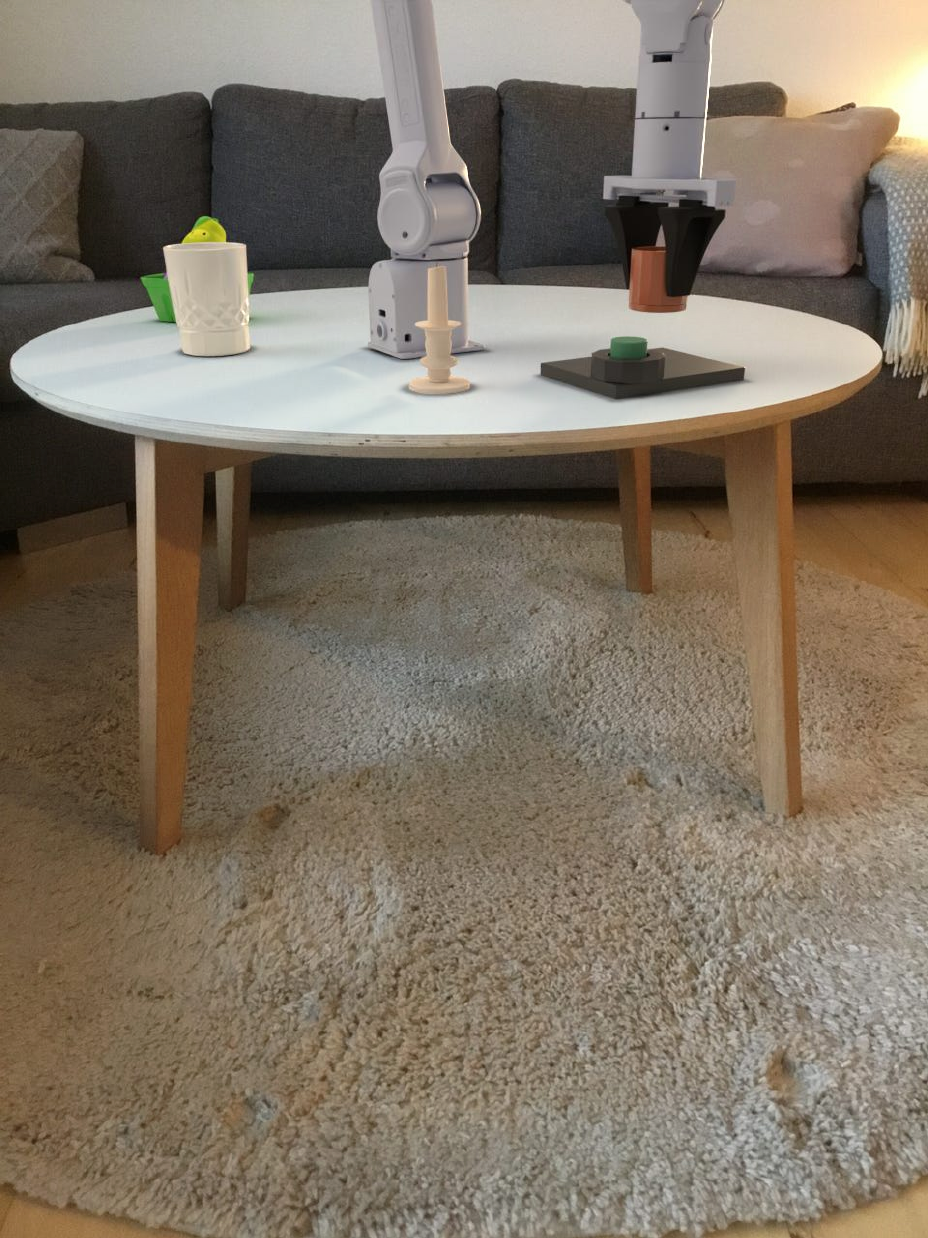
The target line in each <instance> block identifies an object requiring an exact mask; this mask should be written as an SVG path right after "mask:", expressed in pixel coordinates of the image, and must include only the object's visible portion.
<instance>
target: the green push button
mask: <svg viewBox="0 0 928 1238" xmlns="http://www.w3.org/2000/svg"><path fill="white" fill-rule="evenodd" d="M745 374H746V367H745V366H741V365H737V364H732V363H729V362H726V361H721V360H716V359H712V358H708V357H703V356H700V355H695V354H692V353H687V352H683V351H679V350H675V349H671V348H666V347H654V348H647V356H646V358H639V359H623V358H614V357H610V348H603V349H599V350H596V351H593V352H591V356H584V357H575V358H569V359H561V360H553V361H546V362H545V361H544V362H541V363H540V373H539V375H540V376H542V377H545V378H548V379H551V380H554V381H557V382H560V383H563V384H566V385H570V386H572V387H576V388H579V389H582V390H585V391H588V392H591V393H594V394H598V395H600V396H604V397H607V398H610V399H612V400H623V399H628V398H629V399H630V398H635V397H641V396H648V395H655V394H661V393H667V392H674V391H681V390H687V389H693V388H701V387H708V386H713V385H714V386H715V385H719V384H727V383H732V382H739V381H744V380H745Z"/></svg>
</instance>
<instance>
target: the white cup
mask: <svg viewBox="0 0 928 1238" xmlns="http://www.w3.org/2000/svg"><path fill="white" fill-rule="evenodd" d="M162 250H163V256H164V262H165V269H166V270H167V275H168V281H169V287H170V293H171V297H172V302H173V308H174V313H175V319H176V322H175V323H176V326H177V327H178V333H179V334H178V335H179V341H180V348H181V351H182V353H184V354H185V355H189V356H198V357H223V356H231V355H236V354H237V355H238V354H242V353H245V352H247V351H249V350H250V349H251V336H250V326H249V321H250V305H249V303H250V295H249V290H248V273H249V272H248V257H247V255H248V254H247V244H246V243H240V242H229V241H226V242H201V243H184V244H181V243H175V244H168V245H165V246H163V247H162Z"/></svg>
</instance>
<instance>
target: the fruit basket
mask: <svg viewBox="0 0 928 1238" xmlns="http://www.w3.org/2000/svg"><path fill="white" fill-rule="evenodd" d="M201 242H227V234H226V230H225V229H224V227H223V226H222V225H221V224H220V222H219V220H218V218H215V217H213V218H212V217H210V216H207V215H203V216H201V217H199V218H198V219H197V221H196V222H195V224H194V226H193V228H192V229H191V231H190V232H188V233H187V234H186V236H185V237H184V238H183V239H182V241H181V243H180V244H184V243H201ZM254 276H255V273H253V272H248V290H249V296H250V294H251V288H252V284H253V281H254ZM140 280H141V282H142V284H143V287H145V288H146V291H147V294H148V296H149V299H150V300H151V303H152V306H153V308H154V311H155V313H156V316H157V318H158V320H159V321H160V322H169V323H170V322H171V323H176V319H175V313H174V308H173V302H172V297H171V293H170V287H169V281H168V275H167V269H166V270H165V272H163V273H156V274H149V275H148V274H147V275H144V276H141V277H140Z"/></svg>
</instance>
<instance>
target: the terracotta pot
mask: <svg viewBox="0 0 928 1238" xmlns="http://www.w3.org/2000/svg"><path fill="white" fill-rule="evenodd" d="M628 290H629V292H628V309H629V310H631V311H634V312H640V313H647V314H648V313H649V314H670V313H671V314H672V313H673V314H674V313H680V312H681V313H682V312H684V311H686V310H687V306H688V305H687V303H688V297H689V296H679V297H669V296H667V292H666V248H665V245H656V246H642V247H634V248H632V256H631V272H630V289H628Z"/></svg>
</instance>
